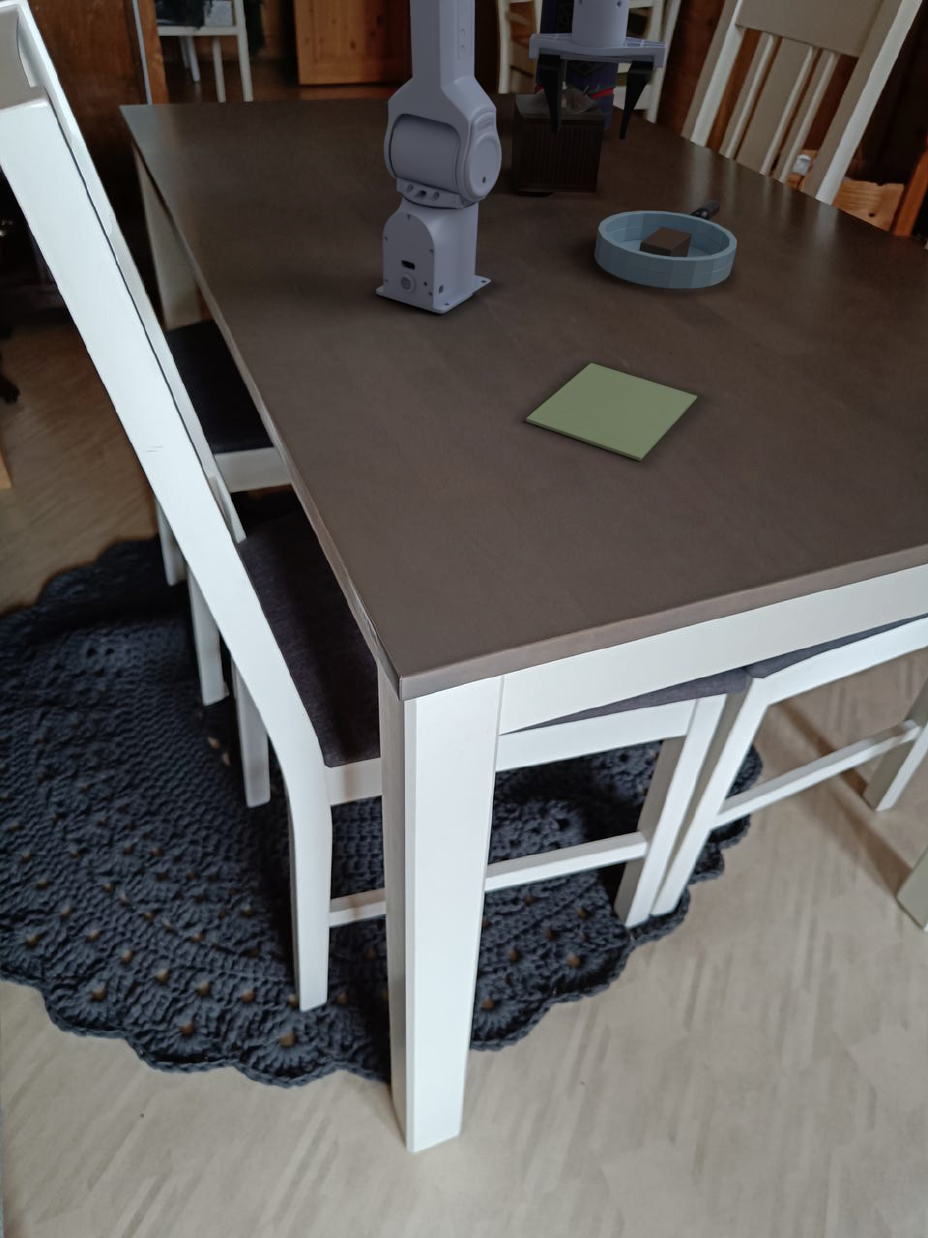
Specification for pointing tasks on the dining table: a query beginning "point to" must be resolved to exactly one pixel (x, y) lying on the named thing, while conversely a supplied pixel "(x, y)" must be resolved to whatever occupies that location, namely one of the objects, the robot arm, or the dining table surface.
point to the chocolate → (667, 243)
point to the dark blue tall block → (579, 72)
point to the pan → (697, 270)
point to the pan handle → (707, 210)
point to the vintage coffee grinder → (556, 143)
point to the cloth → (613, 410)
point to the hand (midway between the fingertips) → (589, 133)
